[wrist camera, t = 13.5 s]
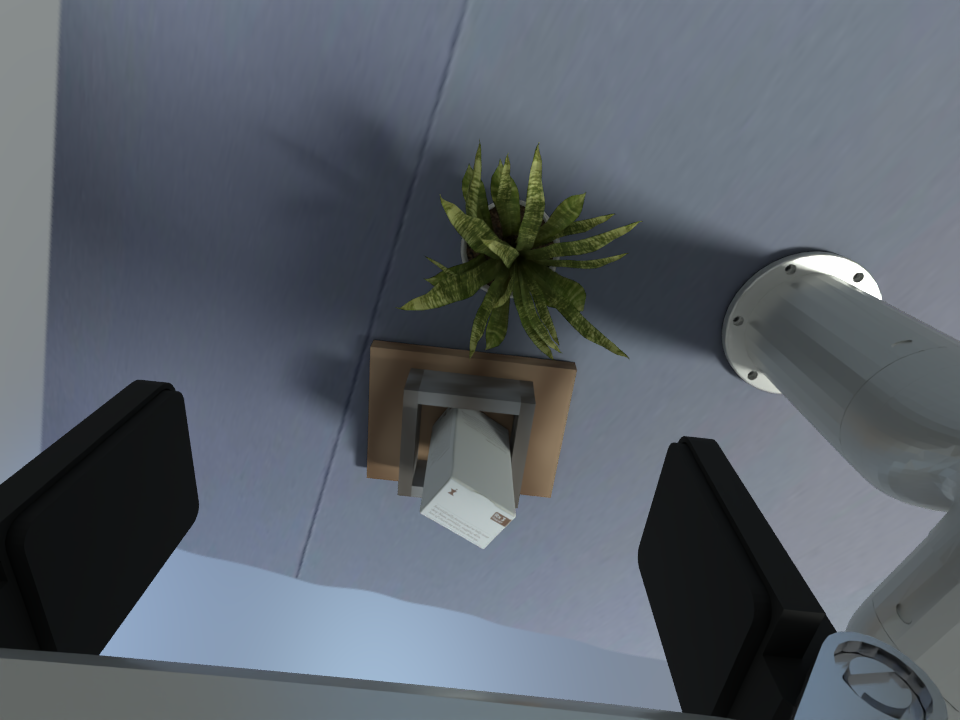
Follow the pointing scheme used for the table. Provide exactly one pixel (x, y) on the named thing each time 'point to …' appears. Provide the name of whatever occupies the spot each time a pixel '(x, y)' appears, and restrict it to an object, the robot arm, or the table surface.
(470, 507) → the skincare box
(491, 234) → the house plant
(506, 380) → the socket
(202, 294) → the table surface
